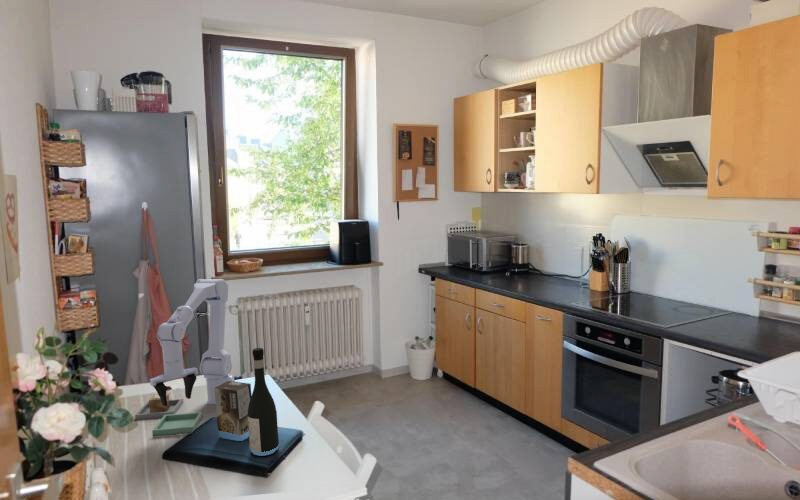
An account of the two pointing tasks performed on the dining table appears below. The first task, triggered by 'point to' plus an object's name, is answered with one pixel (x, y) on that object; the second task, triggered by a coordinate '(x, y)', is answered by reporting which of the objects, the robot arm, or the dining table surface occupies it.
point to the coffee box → (232, 407)
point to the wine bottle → (261, 410)
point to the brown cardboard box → (158, 404)
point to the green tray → (177, 424)
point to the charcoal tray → (145, 412)
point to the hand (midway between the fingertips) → (176, 401)
